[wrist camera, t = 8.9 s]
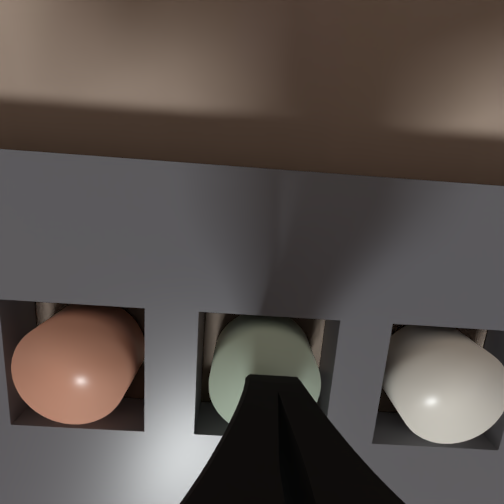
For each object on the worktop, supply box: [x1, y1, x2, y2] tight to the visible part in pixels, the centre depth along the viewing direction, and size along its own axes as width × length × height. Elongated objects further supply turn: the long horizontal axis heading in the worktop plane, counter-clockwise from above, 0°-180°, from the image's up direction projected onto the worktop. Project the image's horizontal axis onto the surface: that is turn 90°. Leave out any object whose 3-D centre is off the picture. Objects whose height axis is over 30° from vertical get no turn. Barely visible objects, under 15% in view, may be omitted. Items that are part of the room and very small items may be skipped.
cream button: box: [382, 325, 504, 444], centre depth 10 cm, size 3×3×2 cm
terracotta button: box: [11, 304, 145, 424], centre depth 10 cm, size 3×3×2 cm
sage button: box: [209, 314, 321, 423], centre depth 10 cm, size 3×3×2 cm
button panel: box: [0, 149, 504, 504], centre depth 10 cm, size 20×12×2 cm, turn 86°
